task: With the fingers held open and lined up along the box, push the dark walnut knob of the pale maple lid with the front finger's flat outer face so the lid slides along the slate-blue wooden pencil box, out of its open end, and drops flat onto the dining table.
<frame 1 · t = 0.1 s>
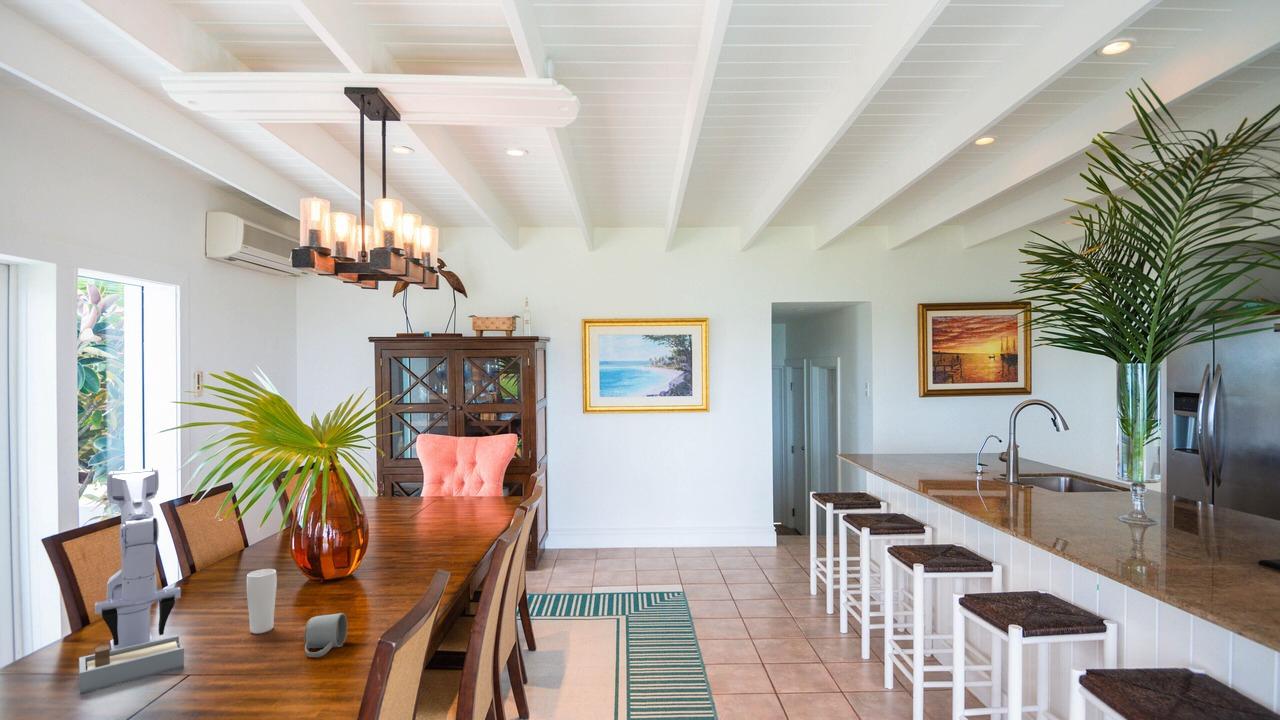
hand: (139, 638, 139), 10 cm above the table, tool pointing down, fingers open, 7 cm apart
drinking glass: (261, 631, 168), on the table
ceramic mug: (324, 649, 157), on the table
box: (132, 672, 145), on the table
cover plate: (134, 658, 146), point 3 cm above the table, touching box
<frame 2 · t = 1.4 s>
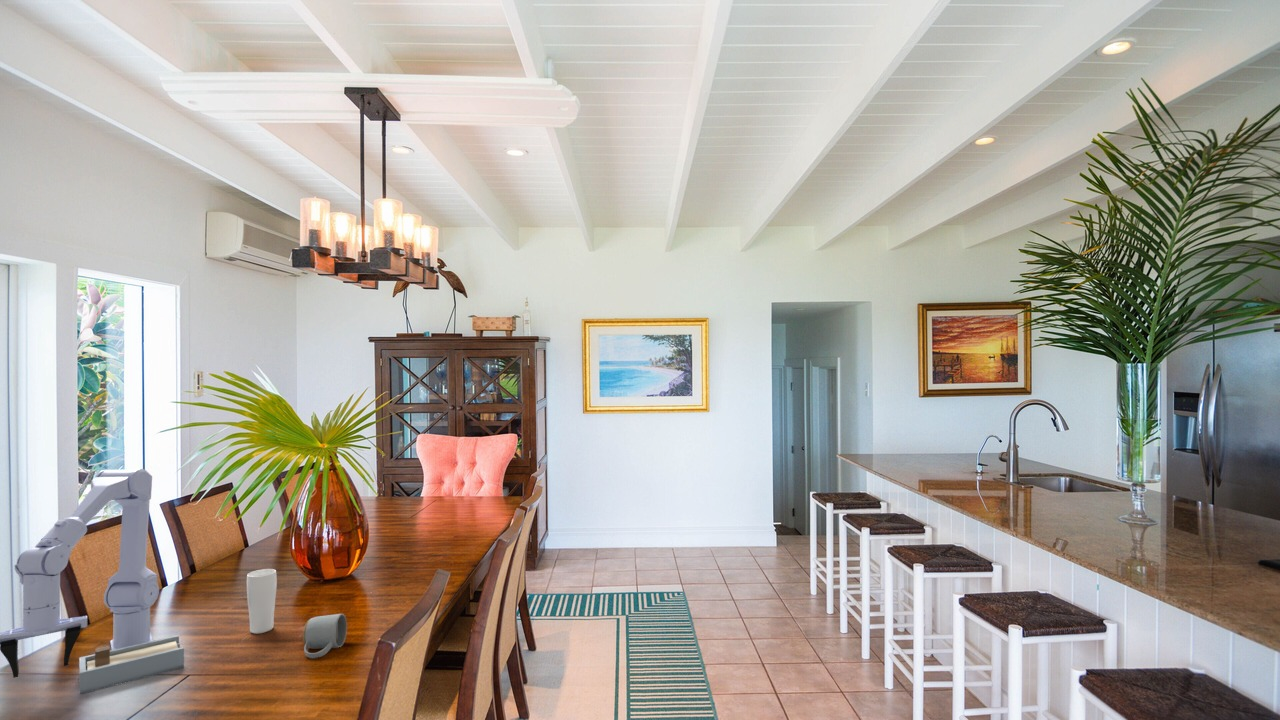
hand: (41, 669, 135), 5 cm above the table, tool pointing down, fingers open, 7 cm apart
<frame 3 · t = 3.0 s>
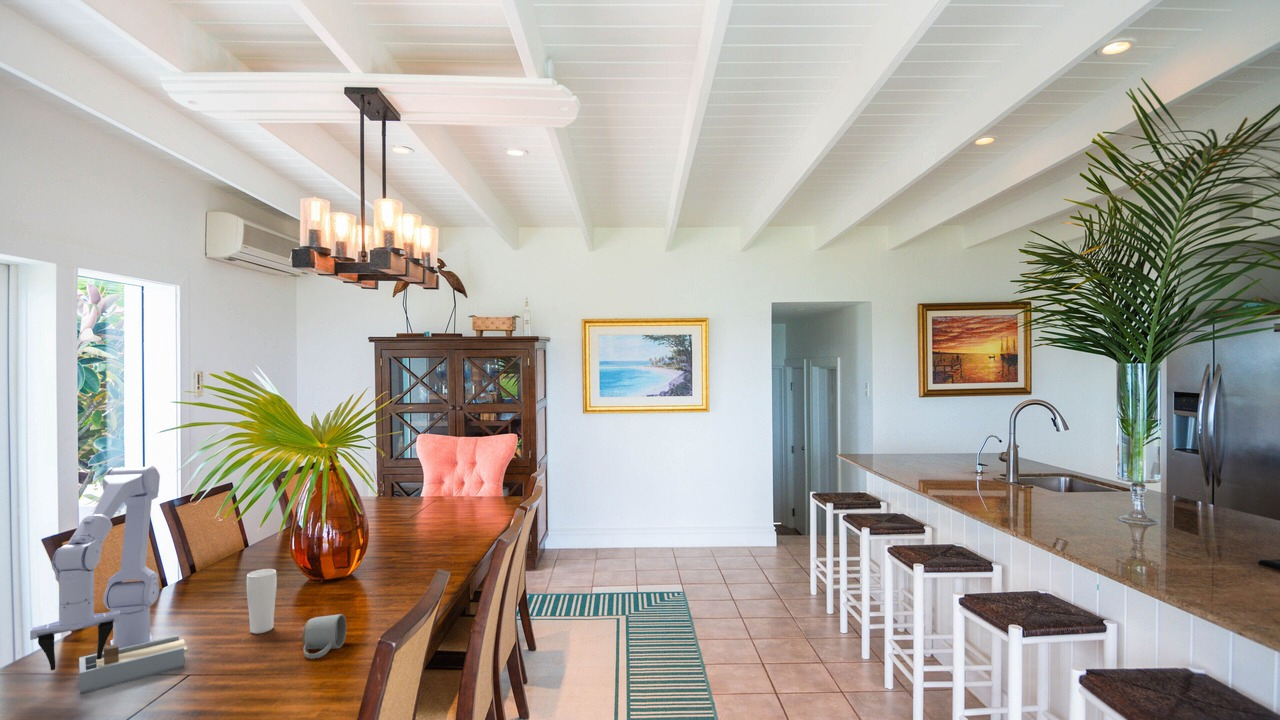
hand: (76, 663, 139), 5 cm above the table, tool pointing down, fingers open, 7 cm apart
cover plate: (142, 656, 147), point 3 cm above the table, touching gripper
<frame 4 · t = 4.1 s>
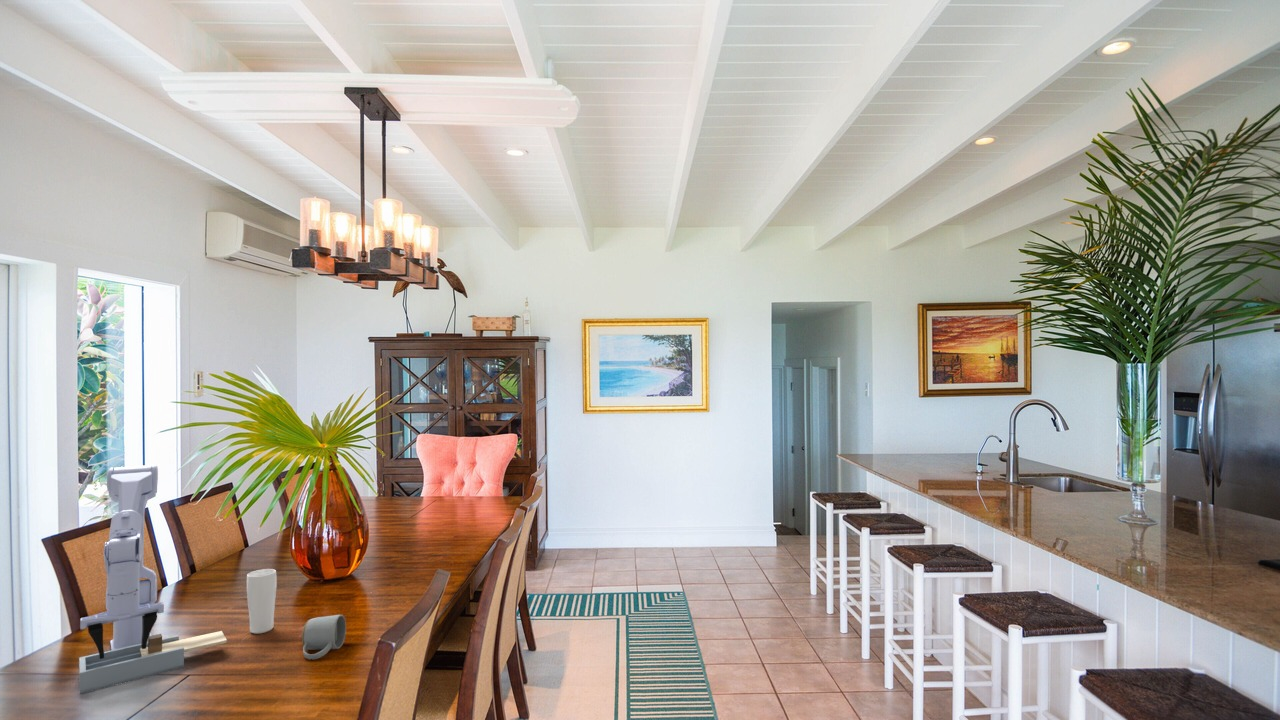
hand: (123, 652, 144), 5 cm above the table, tool pointing down, fingers open, 7 cm apart
cover plate: (184, 646, 152), point 3 cm above the table, touching box
everything else where it was.
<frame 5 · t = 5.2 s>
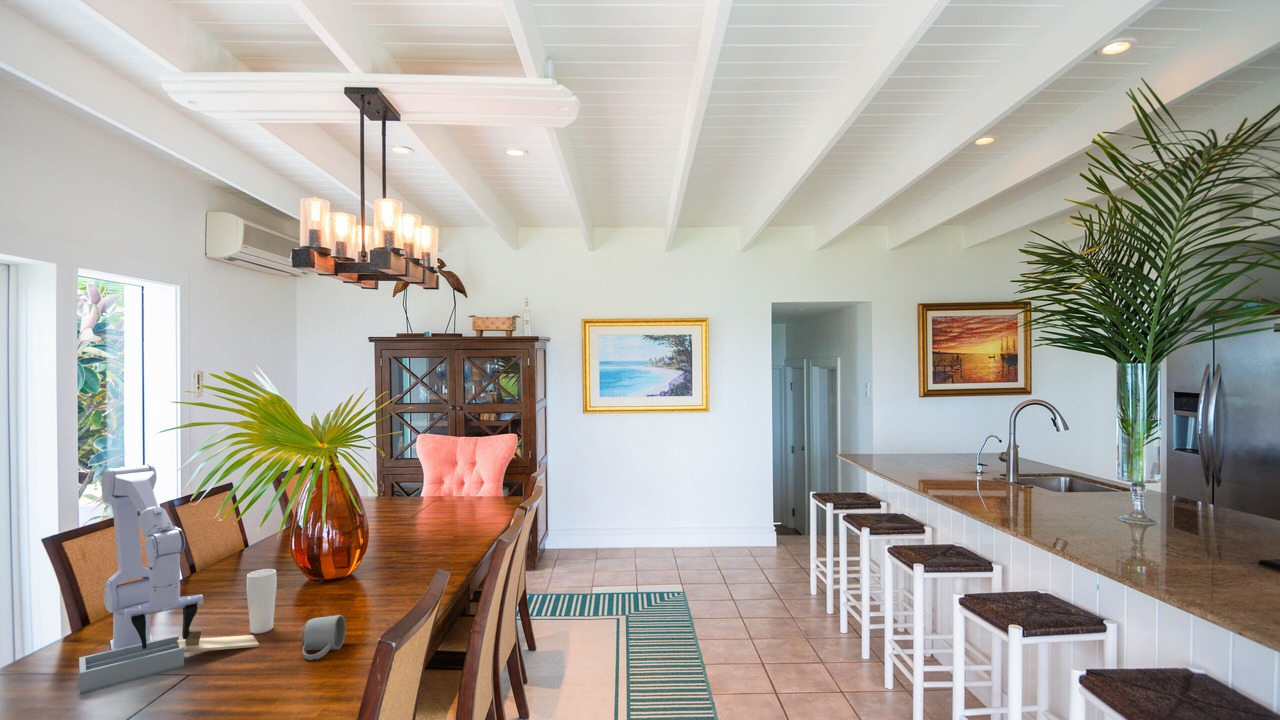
hand: (164, 642, 149), 5 cm above the table, tool pointing down, fingers open, 7 cm apart
cover plate: (218, 644, 156), point 2 cm above the table, tilted 11°
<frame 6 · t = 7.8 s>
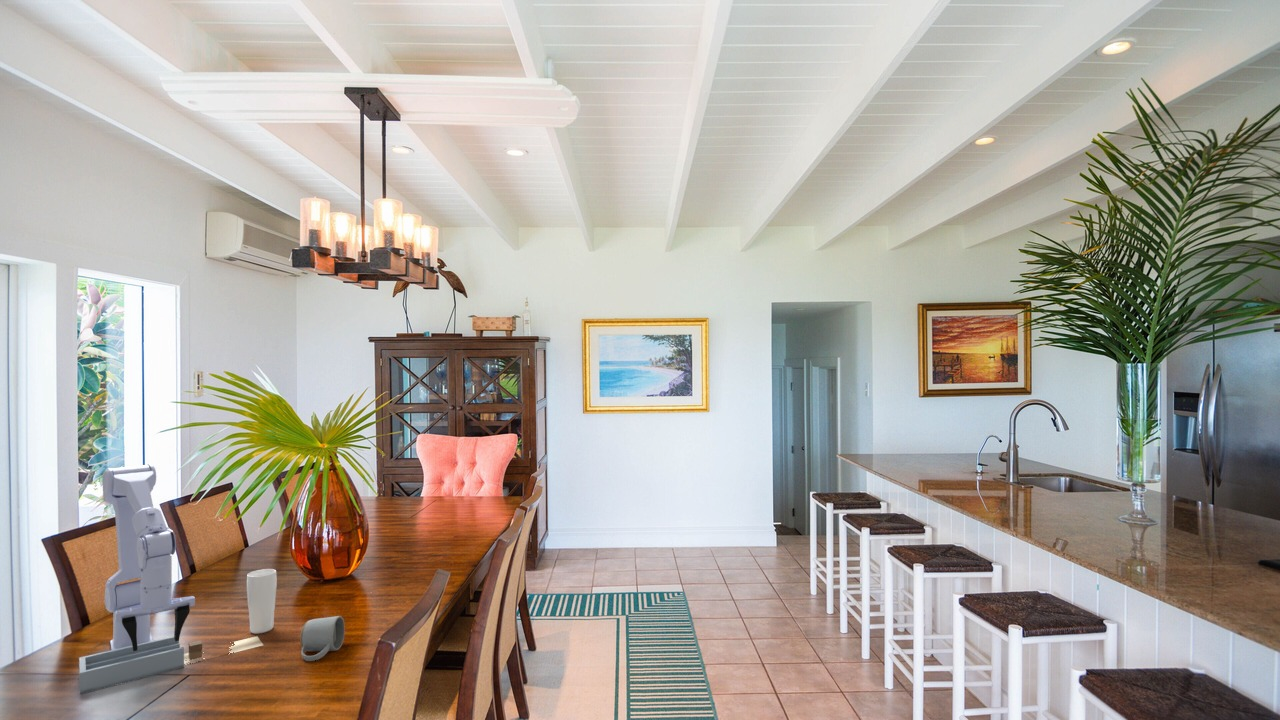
hand: (156, 644, 148), 5 cm above the table, tool pointing down, fingers open, 7 cm apart
cover plate: (222, 652, 157), on the table
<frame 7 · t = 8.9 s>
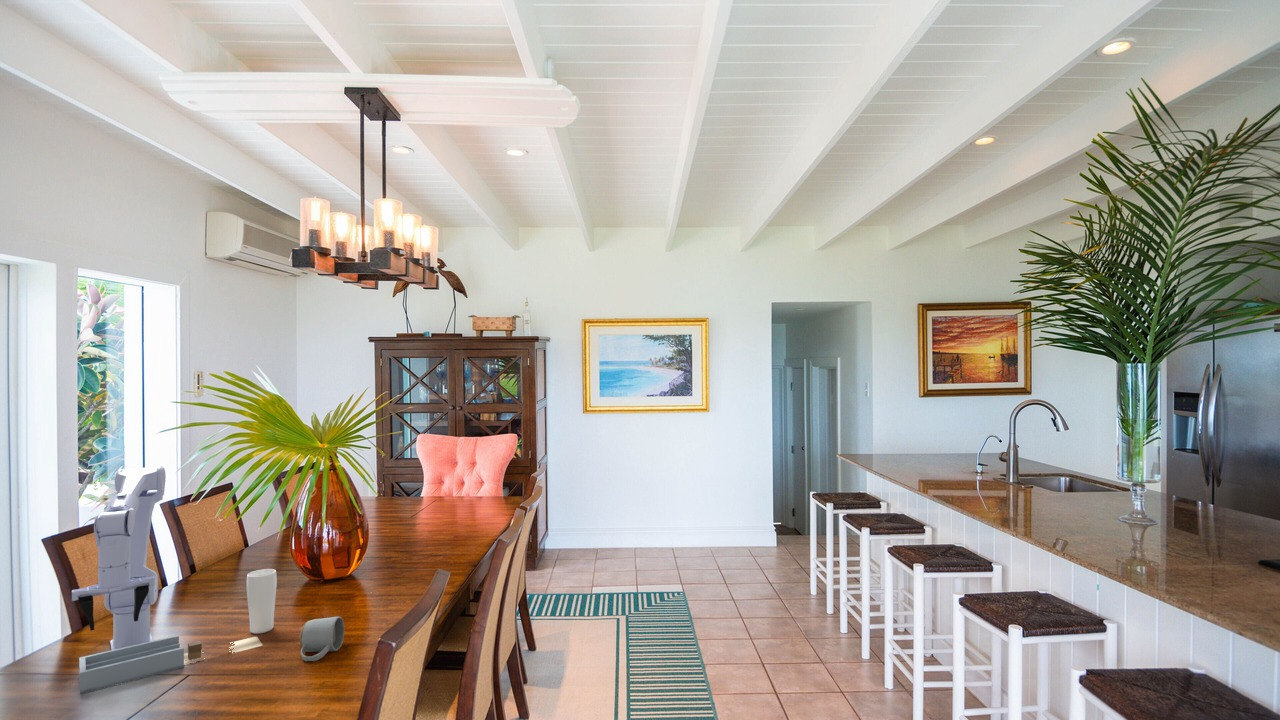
hand: (114, 624, 146), 10 cm above the table, tool pointing down, fingers open, 7 cm apart
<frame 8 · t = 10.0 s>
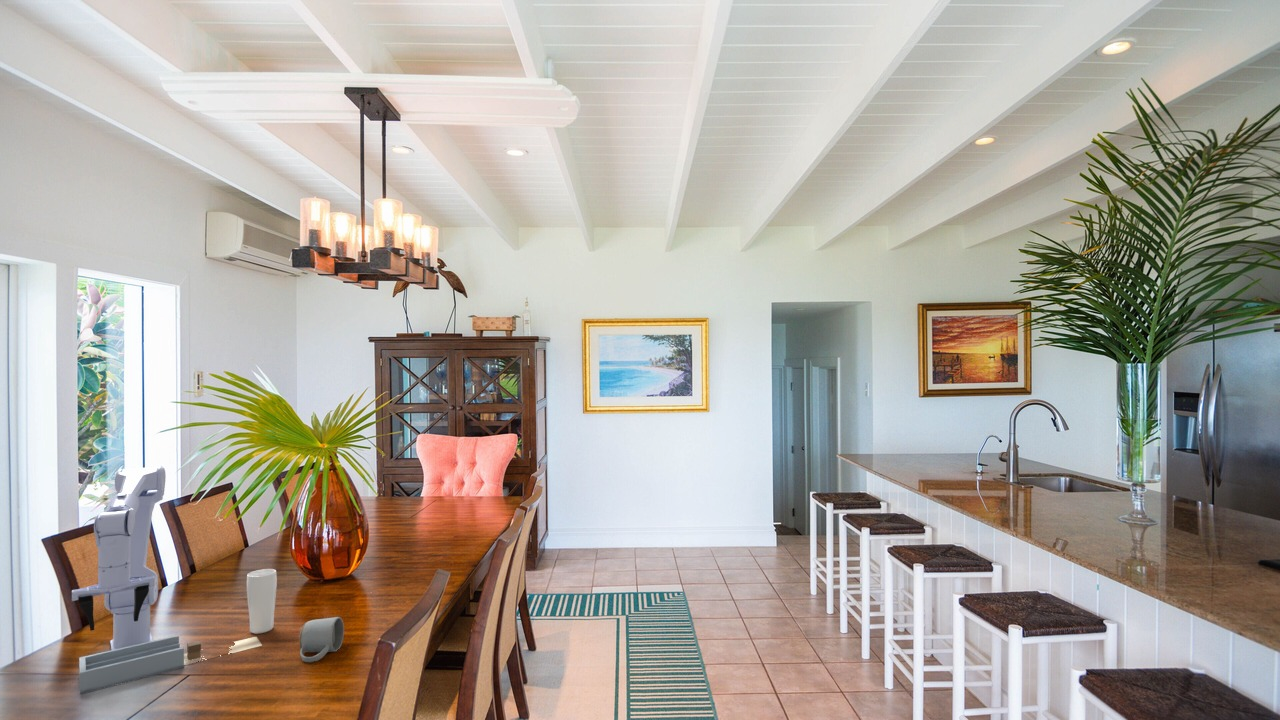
hand: (114, 624, 146), 10 cm above the table, tool pointing down, fingers open, 7 cm apart
at the end: cover plate inside the target area (4.5 cm from its centre), on the table; cover plate tilted 0° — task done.
